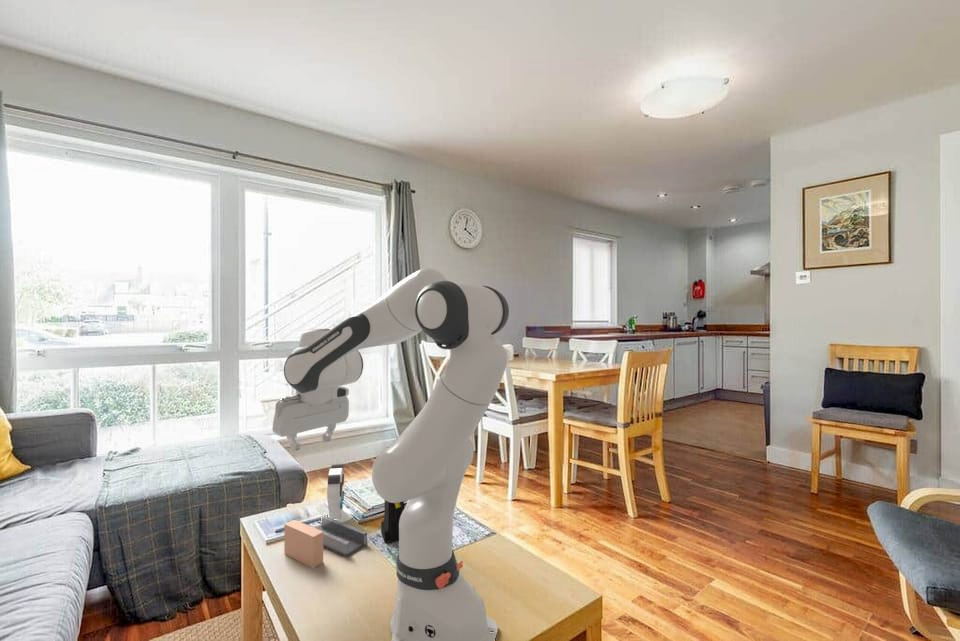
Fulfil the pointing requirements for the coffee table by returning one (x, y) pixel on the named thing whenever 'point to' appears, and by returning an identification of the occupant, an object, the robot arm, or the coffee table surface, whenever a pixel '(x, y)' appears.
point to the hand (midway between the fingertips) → (311, 445)
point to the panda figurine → (337, 495)
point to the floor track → (341, 536)
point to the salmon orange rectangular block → (303, 543)
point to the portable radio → (391, 521)
